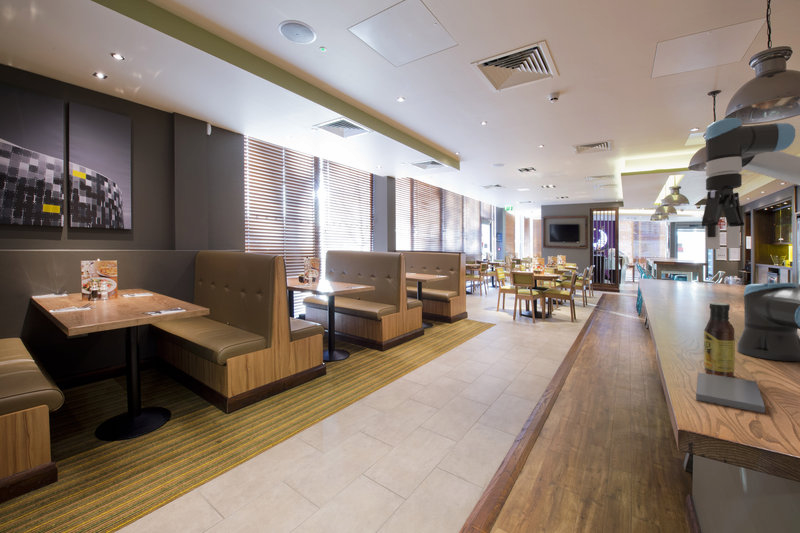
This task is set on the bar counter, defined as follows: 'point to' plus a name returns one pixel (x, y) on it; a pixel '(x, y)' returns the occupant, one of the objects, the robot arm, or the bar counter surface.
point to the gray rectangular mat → (729, 392)
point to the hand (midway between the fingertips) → (723, 248)
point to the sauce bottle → (719, 342)
